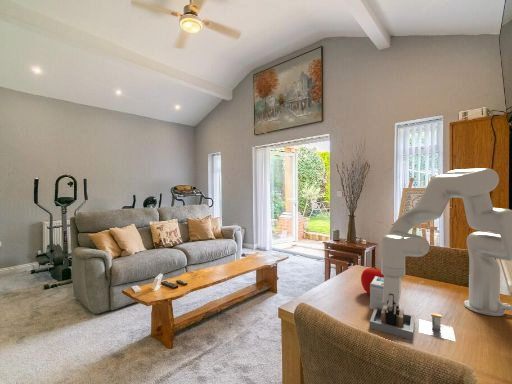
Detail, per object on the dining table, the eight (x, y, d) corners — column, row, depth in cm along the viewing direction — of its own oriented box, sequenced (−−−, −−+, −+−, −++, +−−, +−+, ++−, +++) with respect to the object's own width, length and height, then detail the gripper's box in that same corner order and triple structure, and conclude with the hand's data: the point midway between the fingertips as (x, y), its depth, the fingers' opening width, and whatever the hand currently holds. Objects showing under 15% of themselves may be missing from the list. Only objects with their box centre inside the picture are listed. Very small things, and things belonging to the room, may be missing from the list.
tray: (414, 324, 95) (414, 315, 95) (412, 343, 84) (413, 332, 84) (375, 315, 102) (375, 306, 102) (369, 330, 91) (369, 321, 91)
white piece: (452, 329, 92) (453, 312, 91) (455, 344, 83) (456, 325, 83) (419, 321, 97) (419, 305, 97) (418, 334, 89) (419, 316, 88)
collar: (383, 318, 97) (383, 305, 97) (403, 323, 94) (403, 309, 94) (381, 326, 92) (381, 312, 92) (402, 332, 88) (402, 317, 88)
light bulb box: (374, 299, 116) (374, 275, 116) (391, 303, 112) (391, 278, 112) (369, 308, 107) (369, 283, 107) (387, 313, 104) (387, 286, 103)
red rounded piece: (362, 298, 117) (362, 270, 117) (359, 289, 128) (359, 263, 127) (390, 301, 114) (390, 272, 114) (384, 291, 125) (384, 265, 125)
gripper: (384, 262, 102) (384, 306, 102) (377, 275, 87) (377, 327, 88) (406, 265, 98) (406, 311, 98) (403, 279, 83) (402, 333, 84)
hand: (392, 318), depth 93 cm, fingers open, 8 cm apart
